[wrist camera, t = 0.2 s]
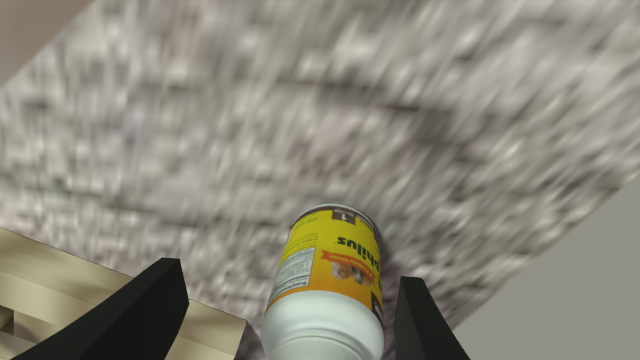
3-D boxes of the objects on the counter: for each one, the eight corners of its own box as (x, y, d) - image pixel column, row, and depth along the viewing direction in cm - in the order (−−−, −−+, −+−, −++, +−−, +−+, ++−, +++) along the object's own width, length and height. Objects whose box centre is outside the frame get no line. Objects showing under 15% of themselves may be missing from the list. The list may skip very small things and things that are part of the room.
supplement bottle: (395, 249, 23) (414, 417, 14) (323, 281, 25) (300, 448, 16) (346, 182, 21) (334, 329, 13) (272, 223, 23) (215, 375, 14)
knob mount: (246, 320, 28) (234, 356, 25) (212, 390, 33) (199, 426, 30) (-23, 219, 26) (-67, 246, 23) (-18, 308, 31) (-53, 339, 28)
